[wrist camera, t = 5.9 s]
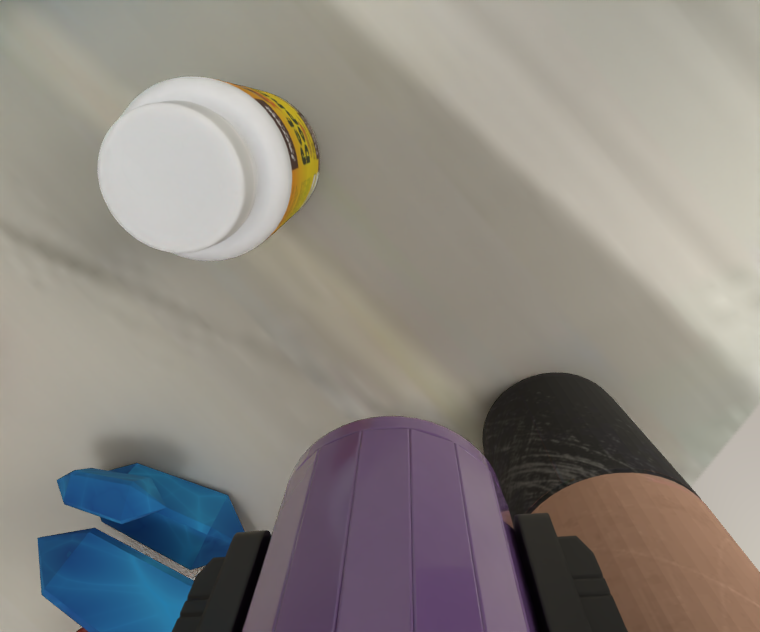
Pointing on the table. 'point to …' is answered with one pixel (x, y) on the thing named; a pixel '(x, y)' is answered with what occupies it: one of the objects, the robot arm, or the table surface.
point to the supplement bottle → (207, 167)
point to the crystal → (123, 563)
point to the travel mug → (620, 506)
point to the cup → (392, 538)
